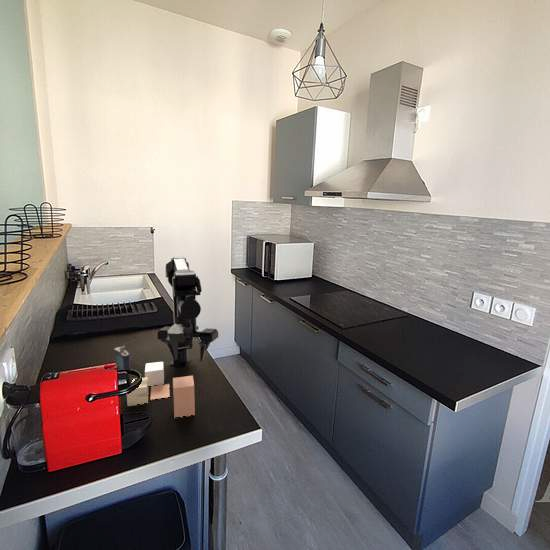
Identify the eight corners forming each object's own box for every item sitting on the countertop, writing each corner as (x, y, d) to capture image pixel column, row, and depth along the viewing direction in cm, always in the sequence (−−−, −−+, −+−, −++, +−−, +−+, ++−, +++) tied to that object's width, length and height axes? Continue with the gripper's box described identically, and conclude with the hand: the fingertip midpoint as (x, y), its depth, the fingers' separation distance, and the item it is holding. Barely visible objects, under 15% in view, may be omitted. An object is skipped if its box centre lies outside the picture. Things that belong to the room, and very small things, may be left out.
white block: (146, 378, 121) (145, 363, 119) (164, 376, 122) (163, 361, 121) (145, 387, 115) (144, 371, 114) (163, 385, 117) (163, 369, 116)
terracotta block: (174, 406, 105) (172, 378, 103) (193, 403, 107) (192, 375, 104) (174, 418, 99) (173, 388, 97) (194, 415, 101) (194, 385, 99)
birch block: (129, 395, 110) (128, 379, 109) (148, 393, 112) (147, 377, 110) (127, 406, 104) (126, 389, 103) (147, 403, 106) (146, 386, 105)
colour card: (151, 387, 115) (151, 386, 115) (169, 384, 117) (169, 383, 117) (150, 400, 108) (150, 399, 108) (169, 397, 110) (169, 396, 109)
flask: (114, 369, 125) (112, 343, 123) (122, 367, 128) (120, 341, 125) (125, 379, 120) (123, 352, 117) (133, 376, 122) (131, 349, 119)
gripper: (144, 317, 98) (147, 367, 100) (203, 319, 94) (205, 372, 96) (165, 309, 109) (167, 355, 111) (218, 311, 105) (219, 358, 107)
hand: (188, 360), depth 106 cm, fingers open, 9 cm apart
